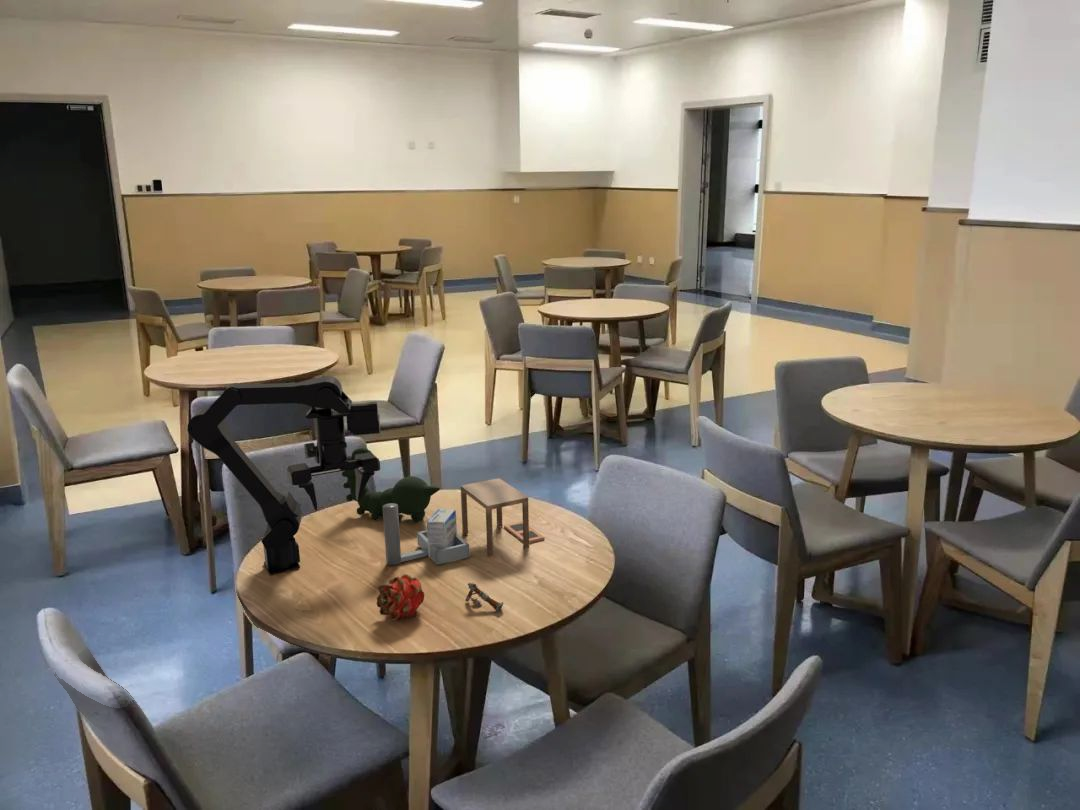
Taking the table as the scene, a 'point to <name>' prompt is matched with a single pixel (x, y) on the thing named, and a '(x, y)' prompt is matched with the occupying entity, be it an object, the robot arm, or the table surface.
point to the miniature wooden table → (494, 505)
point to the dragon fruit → (400, 597)
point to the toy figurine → (391, 494)
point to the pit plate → (518, 532)
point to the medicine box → (442, 529)
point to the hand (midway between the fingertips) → (337, 505)
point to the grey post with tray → (435, 554)
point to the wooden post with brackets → (482, 597)
